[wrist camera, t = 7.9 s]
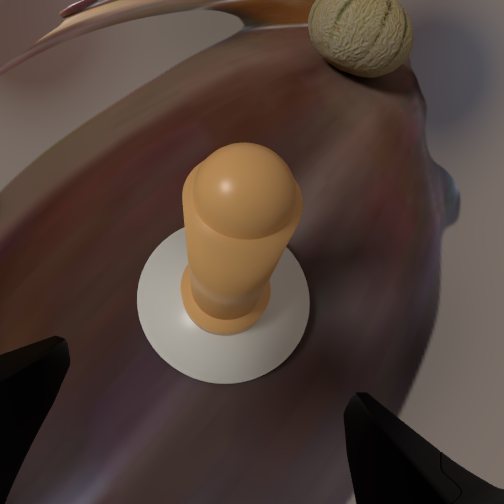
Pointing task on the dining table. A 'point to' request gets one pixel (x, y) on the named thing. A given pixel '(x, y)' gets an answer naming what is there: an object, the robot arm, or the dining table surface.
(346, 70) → the cantaloupe
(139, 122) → the dining table surface
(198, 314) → the orange domed peg
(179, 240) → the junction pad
